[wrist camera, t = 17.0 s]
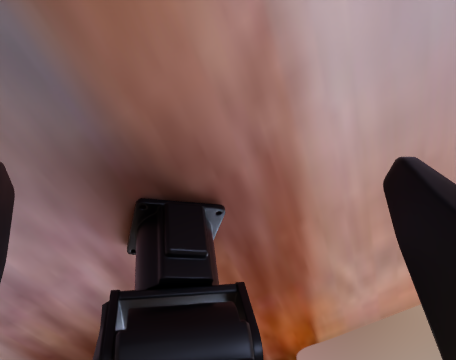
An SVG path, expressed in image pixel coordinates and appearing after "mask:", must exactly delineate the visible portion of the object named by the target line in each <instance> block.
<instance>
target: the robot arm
mask: <svg viewBox="0 0 456 360" xmlns="http://www.w3.org/2000/svg"><path fill="white" fill-rule="evenodd" d="M383 188H384V193H385V197H386V200H387V204H388V208H389V212H390V216H391V219H392V223H393V227H394V231H395V234H396V238H397V241H398V244H399V247H400V250H401V252H402V255H403V257H404V260H405V263H406V265H407V268H408V271H409V273H410V276H411V278H412V281H413V284H414V286H415V289H416V291H417V294H418V297H419V299H420V302H421V304H422V307H423V310H424V312H425V315H426V317H427V320H428V323H429V325H430V328H431V330H432V333H433V336H434V338H435V341H436V343H437V346H438V349H439V351H440V354H441V357H442V359H443V360H456V184H455V183H453V182H452V181H450V180H449V179H447V178H446V177H444V176H443V175H441V174H440V173H438V172H437V171H435V170H434V169H432V168H431V167H430V166H428V165H427V164H425V163H424V162H422V161H421V160H419V159H418V158H416V157H399V158H398V159H396V160H395V162H394V164H393V165H392V167H391V169H390V170H389V172H388V174H387V175H386V177H385V179H384V182H383ZM14 197H15V194H14V188H13V185H12V183H11V180H10V178H9V176H8V173H7V171H6V168H5V166H4V165H3V163H2V162H0V282H1V279H2V275H3V271H4V267H5V263H6V257H7V250H8V243H9V236H10V228H11V221H12V213H13V206H14ZM224 215H225V208H224V206H222V205H217V204H205V203H193V202H182V201H170V200H158V199H146V198H141V199H138V200H137V201H136V204H135V210H134V215H133V220H132V225H131V230H130V236H129V241H128V246H127V252H128V253H129V254H132V255H136V269H135V290H132V291H120V290H111V293H110V300H109V302H107V303H105V304H103V305H102V316H101V326H100V332H99V337H98V341H97V345H96V349H95V353H94V357H93V360H263V350H262V343H261V337H260V333H259V329H258V326H257V323H256V319H255V316H254V313H253V310H252V306H251V303H250V300H249V296H248V293H247V290H246V287H245V283H244V282H236V284H225V285H219V280H218V273H217V265H216V258H215V250H214V242H213V239H214V237H215V235H216V233H217V230H218V228H219V226H220V224H221V222H222V219H223V217H224Z"/></svg>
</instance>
